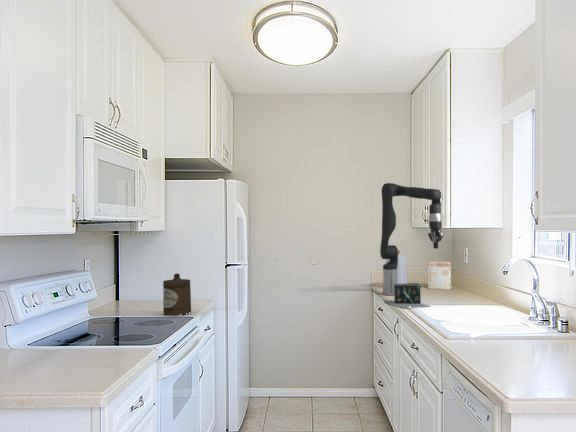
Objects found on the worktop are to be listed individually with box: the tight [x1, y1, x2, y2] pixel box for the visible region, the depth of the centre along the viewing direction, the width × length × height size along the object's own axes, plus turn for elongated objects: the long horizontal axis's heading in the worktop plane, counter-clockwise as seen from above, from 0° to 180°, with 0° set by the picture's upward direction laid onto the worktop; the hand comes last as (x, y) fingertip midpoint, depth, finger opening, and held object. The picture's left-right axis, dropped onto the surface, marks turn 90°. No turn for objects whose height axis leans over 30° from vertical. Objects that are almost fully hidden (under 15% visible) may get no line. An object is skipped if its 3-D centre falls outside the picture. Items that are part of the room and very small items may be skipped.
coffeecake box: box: [427, 261, 452, 291], centre depth 339 cm, size 15×7×20 cm, turn 58°
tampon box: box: [393, 282, 422, 304], centre depth 279 cm, size 11×9×15 cm
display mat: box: [383, 301, 432, 310], centre depth 273 cm, size 22×18×1 cm
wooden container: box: [162, 273, 192, 316], centre depth 255 cm, size 15×15×22 cm
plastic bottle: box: [385, 249, 409, 284], centre depth 347 cm, size 15×15×28 cm
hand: (435, 248), depth 290 cm, fingers closed
